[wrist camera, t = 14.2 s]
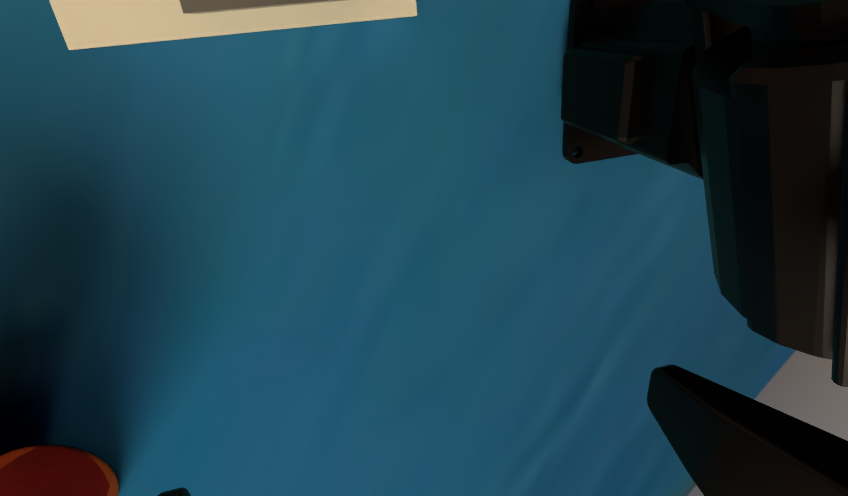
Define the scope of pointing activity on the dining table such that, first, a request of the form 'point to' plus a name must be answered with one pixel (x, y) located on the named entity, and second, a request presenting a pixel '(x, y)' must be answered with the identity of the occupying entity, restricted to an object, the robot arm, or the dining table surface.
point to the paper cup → (55, 473)
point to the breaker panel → (206, 17)
